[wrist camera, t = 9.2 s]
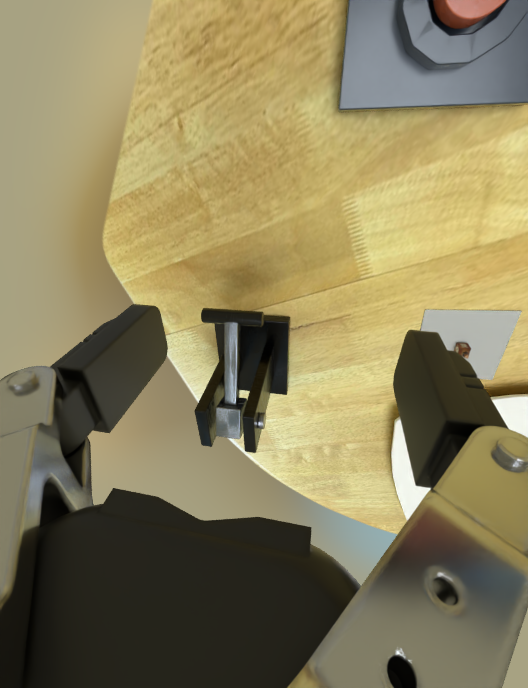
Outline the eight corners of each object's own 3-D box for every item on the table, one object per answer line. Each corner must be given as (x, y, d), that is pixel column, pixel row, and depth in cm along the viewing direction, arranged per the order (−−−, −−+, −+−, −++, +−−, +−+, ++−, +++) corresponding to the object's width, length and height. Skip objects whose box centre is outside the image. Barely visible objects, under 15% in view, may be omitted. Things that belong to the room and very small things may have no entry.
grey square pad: (425, 309, 29) (430, 319, 28) (521, 310, 28) (533, 321, 26) (409, 375, 33) (413, 386, 32) (492, 379, 32) (500, 391, 30)
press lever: (208, 306, 26) (197, 310, 24) (265, 309, 26) (260, 314, 23) (209, 420, 29) (200, 434, 27) (261, 427, 28) (255, 441, 26)
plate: (599, 515, 40) (614, 537, 38) (398, 512, 48) (401, 530, 46) (662, 369, 28) (689, 388, 26) (380, 396, 36) (383, 413, 34)
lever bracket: (216, 311, 33) (170, 382, 24) (290, 316, 32) (272, 394, 22) (225, 381, 39) (190, 462, 29) (287, 388, 38) (273, 475, 28)
